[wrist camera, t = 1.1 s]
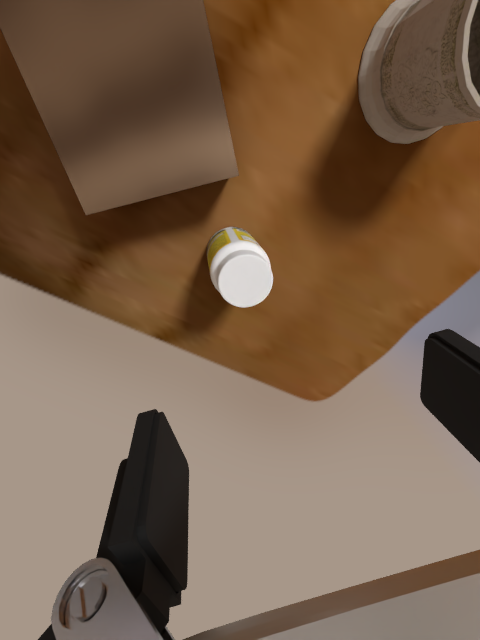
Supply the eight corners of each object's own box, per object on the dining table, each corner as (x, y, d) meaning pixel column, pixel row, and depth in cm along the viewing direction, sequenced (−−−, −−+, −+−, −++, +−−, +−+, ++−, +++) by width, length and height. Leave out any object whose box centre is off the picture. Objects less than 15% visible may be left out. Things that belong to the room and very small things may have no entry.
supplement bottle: (210, 279, 29) (216, 317, 22) (202, 230, 27) (205, 254, 20) (258, 271, 30) (280, 306, 22) (254, 222, 27) (276, 243, 20)
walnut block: (32, 36, 20) (-14, -2, 15) (192, -4, 20) (192, -52, 16) (104, 206, 25) (85, 215, 21) (231, 173, 25) (239, 175, 21)
